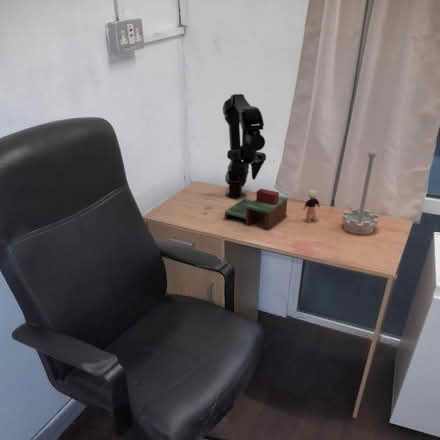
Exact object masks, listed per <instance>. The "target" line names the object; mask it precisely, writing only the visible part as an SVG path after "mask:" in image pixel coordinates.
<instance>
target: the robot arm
mask: <svg viewBox="0 0 440 440" xmlns="http://www.w3.org/2000/svg"><path fill="white" fill-rule="evenodd" d="M222 114H223V115H224V120H225V122H226V123H227V125H228V135H229V150H227V154H226V157H227V159H228V160H229V161H230V162H229V163H228V166H227V171H226V173H225V176H224V178H225V179H224V180H225V183H226V184H227V185H228V193H226V195H225V196H226V197H230V198H233V199H240V198H241V197H243V196H245V192H243V187H245V185H246V183H247V179H248V175H249V173H250V171H249V169H250V168H251V179H252V180H253V181H254V180H255V179H256V178H257V177H258V174H259V172H260V170H261V168H262V167H263V165H264V163H265V161H266V160H267V154H266V153H265V152H261V150H263V148H264V147H265V145H266V139H265V137H264V136H263V134H261V131H263V130H264V126H265V122H264V118H263V114H262V111H261V110H260V109H259V108H258V107H257V106H253V105H251V104H250V103H249V102H248V100H247V99H246V98H245V95H244V94H242V93H235V94H231V95H230V97H229V98H228V99H227V100H225V101H224V103H223V106H222ZM240 127H241V128H240ZM240 129H241V130H242V131H240ZM241 132H242V133H241ZM241 137H242V138H241ZM250 166H251V167H250Z"/></svg>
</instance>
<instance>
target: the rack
mask: <svg viewBox="0 0 440 440" xmlns="http://www.w3.org/2000/svg"><path fill="white" fill-rule="evenodd" d="M287 207H288V197H287V196H282V195H279V199H278V203H276V204H275V205H272V204H268V203H263V202H259V201H256V199H254V200H253V199H248V198H243V199H241V200H240V201H239V202H237V203H235V204H234V205H232V206H230V207H229V208H227V209H226V210H224V220H226V221H228V220H229V219H231V218H232V217H236V218H237V217H238V218H241V219H245V225H246V226H250V225H251V224H252V223H254V222H255V221H257V220H258V219H259V218H260V217H262V216H263V215H265V231H269V230H270V229H272V228H273V227H274V226H275V225H276V224H278V223H279V222H281V221H282V220H284V218H285V217H286V216H287Z"/></svg>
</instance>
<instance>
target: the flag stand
mask: <svg viewBox="0 0 440 440" xmlns="http://www.w3.org/2000/svg"><path fill="white" fill-rule="evenodd" d="M377 155H378V151H377V150H376V149H370V150H369V151H368V153H367V156H368V164H367V170H366V174H365V179H364V185H363V190H362V195H361V201H360V207H359V208H351V211H349V210H345V211H343V214H342V218H341V219H342V222H343V229H344V231H346V232H348V233H350V234H353V235H360V236H361V235H362V236H363V235H369V234H371V233H373V231H374V227H377V225H378V224H379V223H378V222H379V214H377V213H373V214H371V213H372V212H371V210H369V209H365V206H366V202H367V196H368V191H369V185H370V181H371V177H372V176H371V175H372V169H373V165H374V161H375V158H376V157H377Z"/></svg>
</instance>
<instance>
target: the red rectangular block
mask: <svg viewBox="0 0 440 440" xmlns="http://www.w3.org/2000/svg"><path fill="white" fill-rule="evenodd" d="M255 195H256V197H255V198H256V199H255V200H256V201H259V202H263V203H268V204H272V205H275V204H276V203H278V199H279V196H280V192H279V191H274V190H269V189H264V188H259V189H258V190H257V191H256V194H255Z"/></svg>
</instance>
